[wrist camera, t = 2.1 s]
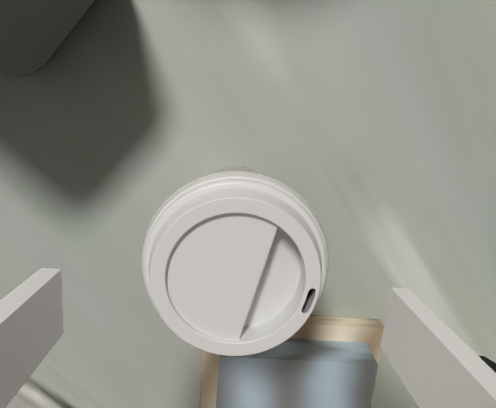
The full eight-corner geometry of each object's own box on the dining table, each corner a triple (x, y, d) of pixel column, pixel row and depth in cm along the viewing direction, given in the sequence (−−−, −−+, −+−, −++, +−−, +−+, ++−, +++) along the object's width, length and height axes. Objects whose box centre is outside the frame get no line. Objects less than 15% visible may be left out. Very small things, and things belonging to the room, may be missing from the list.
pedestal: (378, 319, 35) (399, 349, 30) (353, 459, 38) (368, 504, 34) (206, 309, 34) (201, 338, 30) (197, 453, 38) (192, 498, 33)
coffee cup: (243, 277, 33) (249, 404, 19) (156, 212, 32) (88, 295, 17) (315, 196, 32) (381, 266, 17) (227, 123, 30) (219, 132, 16)
